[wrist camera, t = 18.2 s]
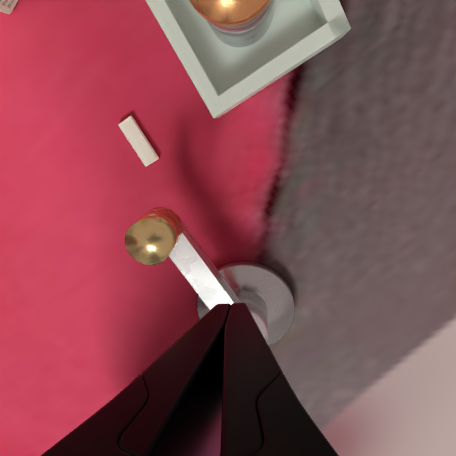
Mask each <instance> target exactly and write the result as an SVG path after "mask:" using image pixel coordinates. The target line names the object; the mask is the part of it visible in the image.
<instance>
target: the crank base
mask: <svg viewBox="0 0 456 456" xmlns="http://www.w3.org/2000/svg"><path fill="white" fill-rule="evenodd" d="M217 270H218V271H219V272H220V274H221V275H222V276H223V278H224V279H225V281H226V282H227V283H228V285H229V286H230V287H231V289H232V290H233V292H237V291H250V292H254V293H256V294H258V295H259V296H260V297H261V298H262V299H263V300H264V301H265V303H266V305H267V317H268V343H267V344H268V346H269V345H271V344H273V343H275V342H276V341H278V340H279V339H281V338H282V337H283V336H284V335H285V334H286V333H287V331H288V330H289V328H290V327H291V325H292V322H293V319H294V313H295V308H294V301H293V295H292V292H291V289H290V287H289V285H288V284H287V282H286V281H285V279H284V278H283V277H282V276H281V275H280V274H278V273H277V272H276V271H275V270H273V269H271V268H270V267H267V266H265V265H263V264H260V263H256V262H250V261H238V262H232V263H228V264H225V265H223V266H221V267H219V268H217ZM197 310H198V315H199V318H200V319H201V318H202V317H203V316H204V315H205V314H207V313H208V312H209V311H210V309H209V308H208V307H207V305H206V304H205V303H204V301H203V300H202V299H201V297H200V296H198V301H197Z"/></svg>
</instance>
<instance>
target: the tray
mask: <svg viewBox="0 0 456 456" xmlns="http://www.w3.org/2000/svg"><path fill="white" fill-rule="evenodd" d="M146 2H147V4H148V5H149V7H150V9H151V11H152V12H153V14H154V16H155V17H156V19H157V21H158V23H159V24H160V26H161V28H162V30H163V31H164V33H165V35H166V37H167V38H168V40H169V42H170V43H171V45H172V47H173V49H174V50H175V52H176V54H177V56H178V57H179V59H180V61H181V63H182V64H183V66H184V68H185V70H186V71H187V73H188V75H189V76H190V78H191V80H192V82H193V83H194V85H195V87H196V89H197V90H198V92H199V94H200V96H201V97H202V99H203V101H204V102H205V104H206V106H207V108H208V109H209V111H210V113H211V115H212V116H213V118H219V117H221V116H222V115H224V114H225V113H227V112H229V111H230V110H232V109H233V108H235V107H236V106H238V105H239V104H241V103H242V102H244V101H245V100H247V99H249V98H250V97H252V96H253V95H255V94H256V93H258V92H259V91H261V90H262V89H264V88H265V87H267V86H269V85H270V84H272V83H273V82H275V81H276V80H278V79H279V78H281V77H282V76H284V75H285V74H287V73H289V72H290V71H292V70H293V69H295V68H296V67H298V66H299V65H301V64H302V63H304V62H305V61H307V60H309V59H310V58H312V57H313V56H315V55H316V54H318V53H319V52H321V51H322V50H324V49H325V48H327V47H329V46H330V45H332V44H333V43H335V42H336V41H338V40H339V39H341V38H342V37H343V36H344V35H345V34H346V33H347V32H348V31H349V30H350V29H351V27H350V25H349V22H348V20H347V18H346V15H345V13H344V11H343V8H342V6H341V4H340V1H339V0H275V6H274V15H273V19H272V22H271V25H270V27H269V29H268V30H267V32H266V33H265V35H264V36H263V37H262V38H261V39H260V40H258V41H257V42H256V43H254V44H252V45H250V46H246V47H232V46H229V45H227V44H225V43H224V42H222V41H221V40H220V39H219V38H218V37H217V36H216V35H215V33H214V32H213V30H212V29H211V27H210V25H209V24H208V22H207V21H206V19H204V18H203V17H202V16H201V15H200V14H199V13H198V12H197V11H196V10H195V8H194V7H193V6H192V4H191V3H190V1H189V0H146Z"/></svg>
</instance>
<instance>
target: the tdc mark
mask: <svg viewBox="0 0 456 456" xmlns="http://www.w3.org/2000/svg"><path fill="white" fill-rule="evenodd" d="M118 126H119V127H120V129H121V130H122V132H123V133H124V135H125V136H126V138H127V139H128V141H129V142H130V144H131V145H132V147H133V148H134V150H135V151H136V153H137V154H138V156H139V158H140V159H141V161H142V162H143V164H144V165H145V167H147V166H148V165H150V164H151V163H153V162H155V161H156V160H158V159H159V157H158V155H157V154H156V152H155V151H154V149H153V148H152V146H151V144H150V143H149V141H148V140H147V138H146V137H145V135H144V134H143V132H142V130H141V129H140V127H139V126H138V124H137V123H136V121H135V120H134V118H133V117H132V116H129V117H128V118H127V119H125V120H124V121H122V122H121V123H120V124H118Z"/></svg>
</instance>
